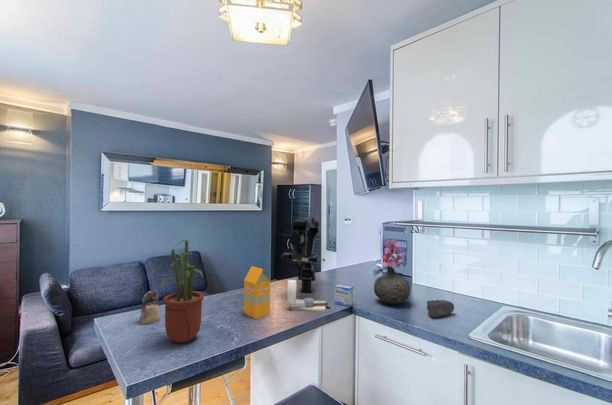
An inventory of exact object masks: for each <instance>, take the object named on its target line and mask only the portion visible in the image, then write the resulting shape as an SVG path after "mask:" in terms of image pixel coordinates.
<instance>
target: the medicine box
mask: <svg viewBox="0 0 612 405" xmlns="http://www.w3.org/2000/svg"><path fill="white" fill-rule="evenodd" d="M353 297H354V286H351V285H345V284H336V285H335V286H334V305H339V306H345V307H348V308H349V307H351V306H352V305H354V298H353Z"/></svg>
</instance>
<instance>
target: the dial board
mask: <svg viewBox="0 0 612 405" xmlns="http://www.w3.org/2000/svg"><path fill="white" fill-rule="evenodd" d="M300 301H304V298H303V299H301V298H296V302H300ZM314 303H327V300H320V299H314ZM327 307H331V305H330V304H329V303H328V305H314V306H313V307H292V306H290V310H291V311H301V312H303V311H304V312H305V311H306V312H320V313H321V312H323V313H325V312H326V308H327ZM329 309H330V310H332V309H333V308H329Z"/></svg>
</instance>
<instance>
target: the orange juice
mask: <svg viewBox="0 0 612 405" xmlns="http://www.w3.org/2000/svg"><path fill="white" fill-rule="evenodd" d="M249 268H250V269H249V271H248V272H247V274H246V276H245V278H244V279H243V282H244V283H243V286H244V287H243V314H245V315H247V316H249V317H251V318H252V319H259V318H262V317H264V316H268V315H270V308H271V306H270V305H271V280H270V279H269V277H268V276H267V274H266V271H264V269H263V268H260V267H257V266H254V265H251V267H249Z"/></svg>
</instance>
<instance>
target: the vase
mask: <svg viewBox="0 0 612 405" xmlns="http://www.w3.org/2000/svg"><path fill="white" fill-rule="evenodd" d="M399 243H400V241H395V240H393V241H392V242H391V243H389V242H388V241H387V240H384V241H383V242H382V244H384V245H386V247H385V248H384V255H382V256H381V259H382V260H383V261H384V262H382V266H383V267H384V268H382V269H379V270H377V271H376V272H375V273H374V275H373V277H375V276H376V275H377V274H378V273H380V271H382V270H383V269H385V270H386V272H385V273H384V274H382V275H380V276H378V277H377V278H376V279H375V280H374V284H373V291H374V294H375V296H376V297H377V298H378V299H379V300H381V301H382V302H384V304H386V305H389V306H398V305H399V304H400V303H403V302H404V301H406V300H408V299H409V297H410V295H411V294H410V293H411V286H410V283H409V281H408V280H407V279H406V278H404V277H402V276H401V275H399V274H397V273H396V270H395V269H396V268H400V267H401V265H402V266H403V267H404V268H405V267H406V262H403V261H402V259H403V256H401V255H403V253H402V251H401V249H400V248H399V247H396V246H397V245H398V244H399ZM395 252H398V253H397V254H396V256H395V255H394V253H395ZM394 265H395V267H394V268H395V269H394V268H393V266H394Z"/></svg>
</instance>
